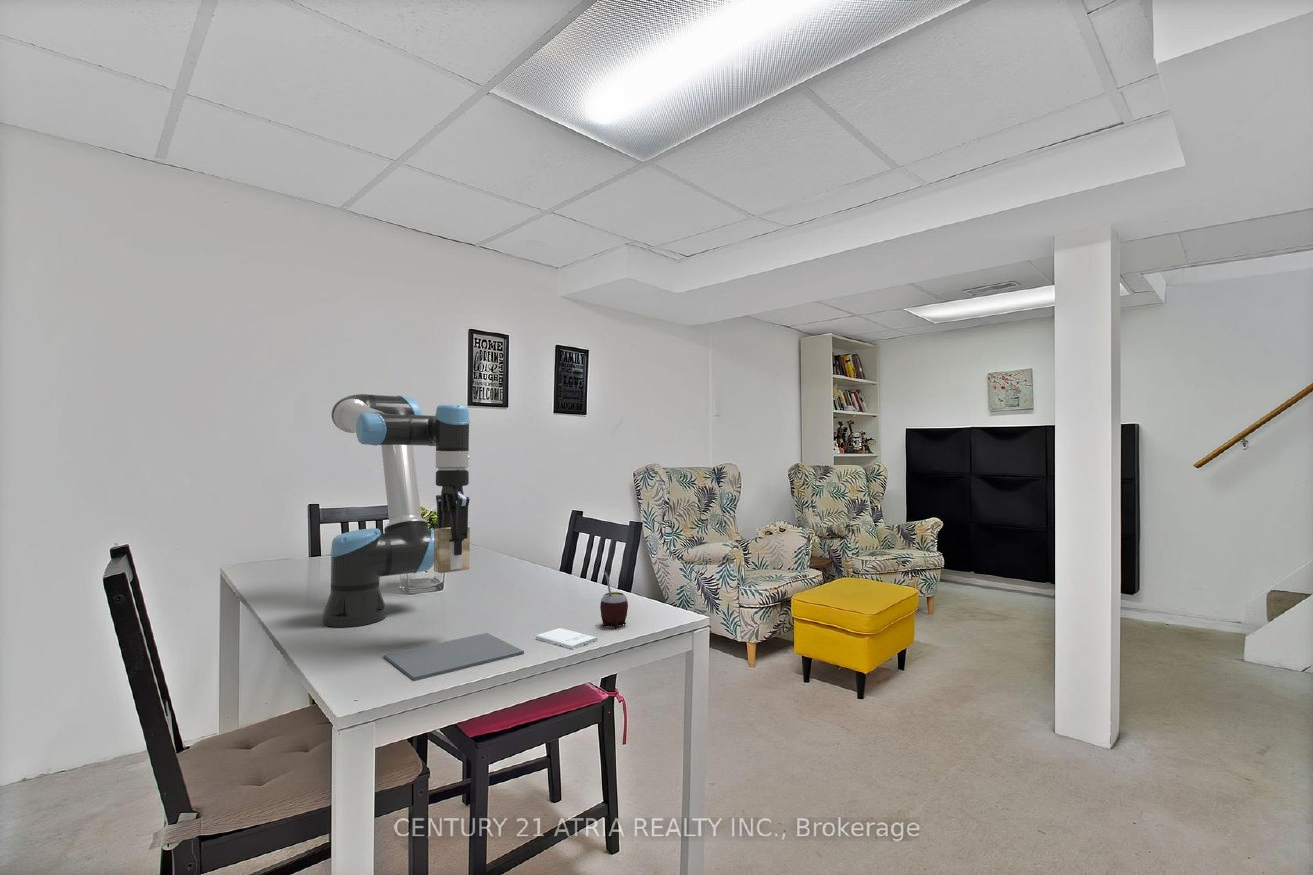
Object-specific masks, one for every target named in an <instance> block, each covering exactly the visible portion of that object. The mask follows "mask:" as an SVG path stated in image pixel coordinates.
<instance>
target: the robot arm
mask: <svg viewBox="0 0 1313 875" xmlns="http://www.w3.org/2000/svg"><path fill="white" fill-rule="evenodd" d="M331 410H332V411H331V420H332V422H333V424H334V426H335V427H337V428H338V429H339V430H341V431H343V432H345V433H350V434H356V439H357V441H358V443H359V444H361V445H370V446H376V447H377V446H381V447H380V448H381V455H382V465H383V474H384V486H385V492H386V493H385V496H386V503H387V511H388V512H387V513H388V523H387V525H385V527H384V529H383V531H384V532H383V533H382V531H381V530H380V529H379V528H373V527H371V528H363V529H356V530H351V531H348V532H344V533H341V534H337V535H336V536H335V537H334V538H333V539H332V541H331V548H330V554H329V555H330V557H331V558H330V593H329V597H328V599H327V602H326V604H325V607H324V609H323V614H322V624H323V625H324V626H328V627H333V628H334V627H335V628H346V627H347V628H348V627H350V628H351V627H357V626H365V625H369V624H373V623H377V622H380V621H382V620H384V619H385V618H386V617H387V606H386V603H385V600H384V597H383V595H382V592H381V591H382V590H381V589H380V580H381V579H380V578H382V577H389V576H398V575H406V574H417V573H420V572H422V573H423V572H426V571H429V570H431V569H432V567H434V529H432V528H429V522H428V520H426V519H424V518H423V517H422V512H421V503H420V502H421V501H420V496H419V495H420V494H419V487H418V478H417V472H416V470H417V469H416V462H415V454H414V446H428V447H435V469H437V470H436V472H435V485H436V486H438V487H441V491H440V492H441V493H440V494H437V495H436V496H435V500H436V502H435V503H436V528H448V527H451V533H452V539H450V540H449V542H450V570H453V569H461V568H462V541H463V540H464V539H467V537H468V527H469V526H468V525H469V519H468V518H469V505H470V496H465V495H464V489H463V487H465V486H468V485H469V482H470V477H469V476H470V474H469V470H467V469H468V468H469V461H470V458H471V457H470V455H469V453H470V452H469V450H470V449H469V447H470V446H469V445H470V415H469V414H470V412H469V408H468V407H467V406H466V405H462V404H441V405H437V407H436V409H435V415H423V414H422V410H421V407H420V405H419V403H418V402H417V401H416V400H415V399H414V398H413V397H408V396H402V395H382V394H381V395H380V394H367V393H365V394H364V393H357V394H351V395H348V396H344V397H343V398H341V399H340V400H338V401H337V402H336V403H335V404H334V406H333V407H332V409H331Z"/></svg>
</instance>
